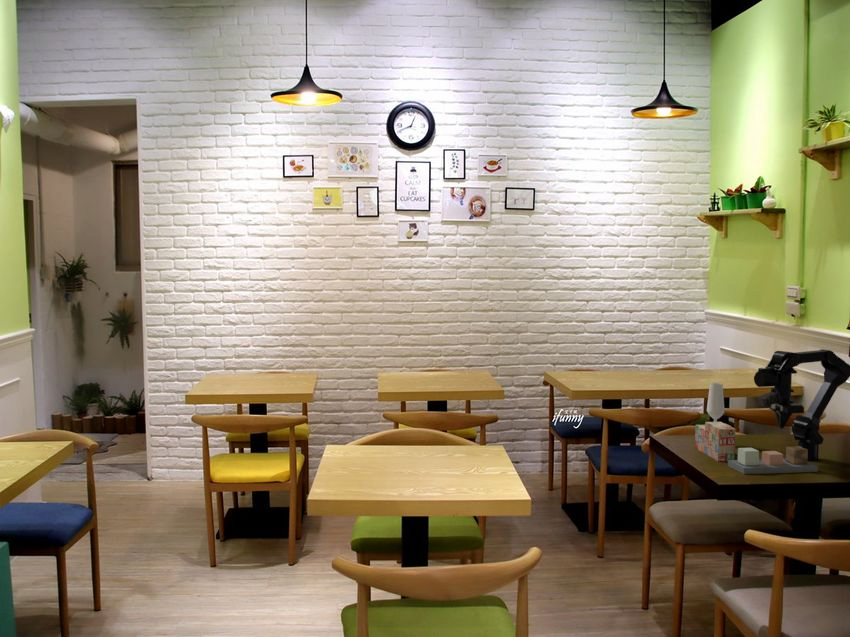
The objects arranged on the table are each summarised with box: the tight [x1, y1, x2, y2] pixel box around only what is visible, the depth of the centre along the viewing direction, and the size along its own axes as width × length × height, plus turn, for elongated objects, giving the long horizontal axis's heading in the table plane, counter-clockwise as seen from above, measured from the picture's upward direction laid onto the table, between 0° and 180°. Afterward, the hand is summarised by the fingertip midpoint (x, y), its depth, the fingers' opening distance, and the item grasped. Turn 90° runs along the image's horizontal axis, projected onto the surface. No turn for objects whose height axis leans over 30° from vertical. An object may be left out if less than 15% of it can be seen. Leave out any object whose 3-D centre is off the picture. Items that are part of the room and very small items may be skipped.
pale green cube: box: [737, 447, 760, 466], centre depth 273 cm, size 5×5×5 cm
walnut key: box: [785, 445, 808, 464], centre depth 275 cm, size 5×5×5 cm
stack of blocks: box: [694, 421, 736, 462], centre depth 295 cm, size 21×6×12 cm, turn 4°
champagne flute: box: [706, 382, 726, 422], centre depth 313 cm, size 7×7×24 cm
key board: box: [727, 458, 819, 475], centre depth 275 cm, size 27×11×2 cm, turn 96°
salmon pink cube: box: [761, 450, 784, 465], centre depth 274 cm, size 5×5×5 cm
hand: (781, 428), depth 285 cm, fingers closed
